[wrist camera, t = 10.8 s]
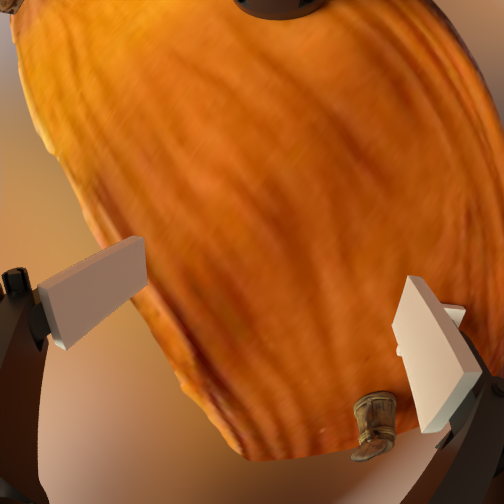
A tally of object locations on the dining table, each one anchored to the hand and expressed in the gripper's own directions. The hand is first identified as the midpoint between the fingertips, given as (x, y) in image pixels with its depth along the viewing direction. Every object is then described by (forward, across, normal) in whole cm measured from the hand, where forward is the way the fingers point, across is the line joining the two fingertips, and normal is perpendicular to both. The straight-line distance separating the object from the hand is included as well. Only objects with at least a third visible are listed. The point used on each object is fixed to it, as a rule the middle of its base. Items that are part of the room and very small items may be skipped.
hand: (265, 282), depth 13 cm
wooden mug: (+26, +20, -35) cm, 48 cm away
